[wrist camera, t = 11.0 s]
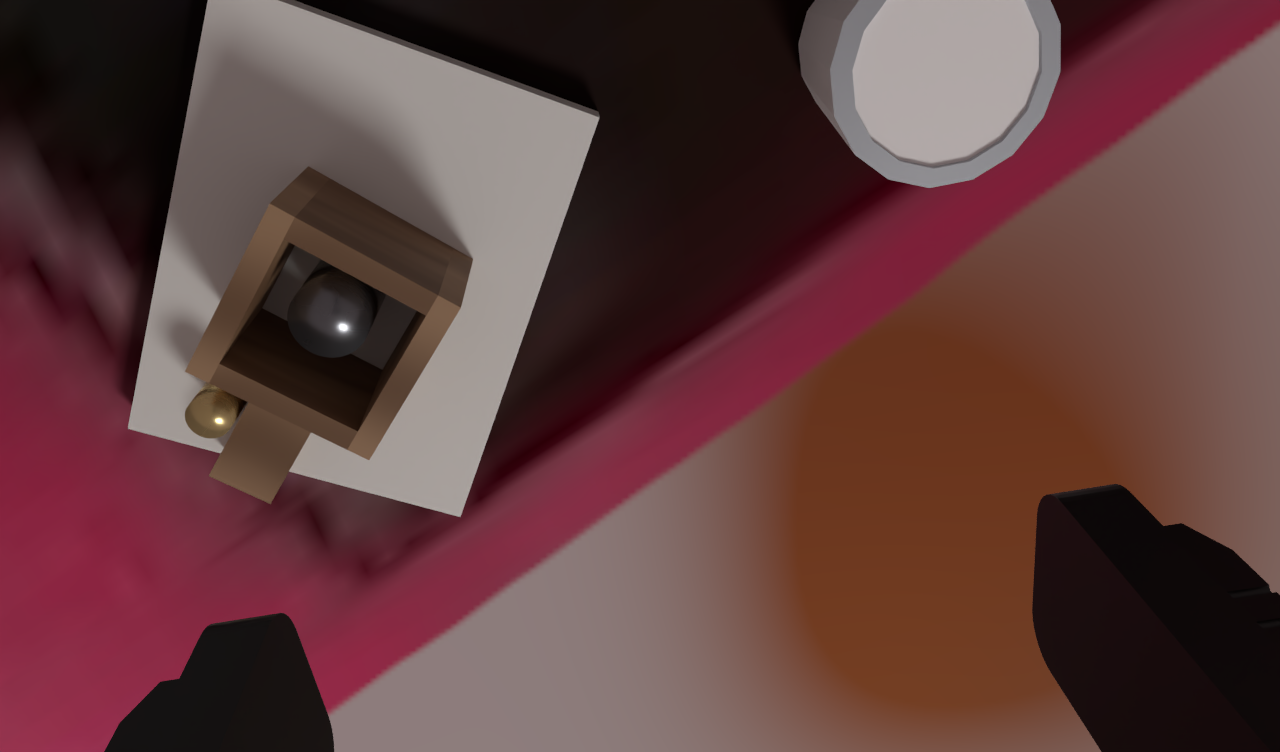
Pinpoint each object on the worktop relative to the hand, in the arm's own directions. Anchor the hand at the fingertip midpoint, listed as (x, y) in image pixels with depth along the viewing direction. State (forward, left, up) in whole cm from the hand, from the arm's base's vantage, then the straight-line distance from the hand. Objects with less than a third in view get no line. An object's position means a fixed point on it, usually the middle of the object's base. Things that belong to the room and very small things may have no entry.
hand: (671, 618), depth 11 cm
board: (+8, -7, -27) cm, 29 cm away
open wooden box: (+11, -7, -26) cm, 29 cm away
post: (+8, -7, -26) cm, 28 cm away
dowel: (+13, -10, -26) cm, 31 cm away
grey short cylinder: (-6, +8, -27) cm, 29 cm away
